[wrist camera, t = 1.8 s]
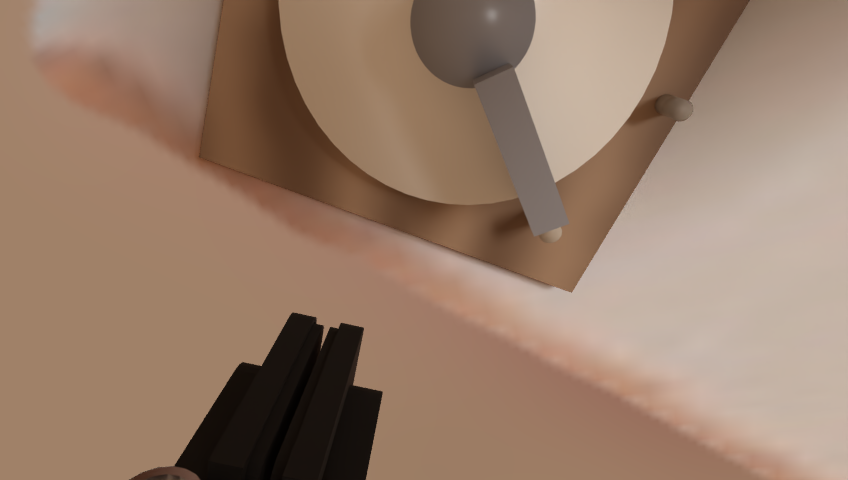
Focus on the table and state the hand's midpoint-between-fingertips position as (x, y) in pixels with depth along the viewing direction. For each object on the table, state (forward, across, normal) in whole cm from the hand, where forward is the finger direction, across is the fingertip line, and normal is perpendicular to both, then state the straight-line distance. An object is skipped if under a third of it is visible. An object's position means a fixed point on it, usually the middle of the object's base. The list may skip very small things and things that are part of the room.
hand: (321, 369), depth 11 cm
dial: (+17, -2, -8) cm, 19 cm away
